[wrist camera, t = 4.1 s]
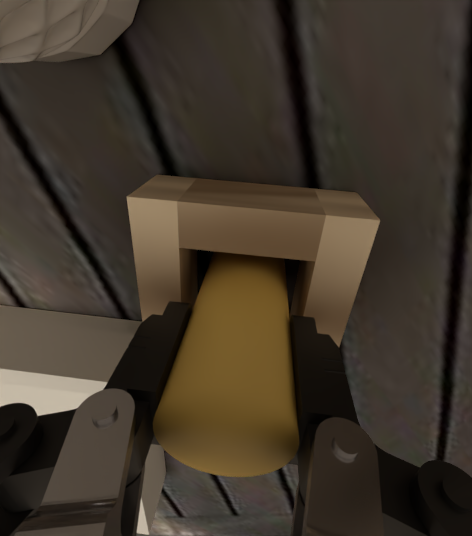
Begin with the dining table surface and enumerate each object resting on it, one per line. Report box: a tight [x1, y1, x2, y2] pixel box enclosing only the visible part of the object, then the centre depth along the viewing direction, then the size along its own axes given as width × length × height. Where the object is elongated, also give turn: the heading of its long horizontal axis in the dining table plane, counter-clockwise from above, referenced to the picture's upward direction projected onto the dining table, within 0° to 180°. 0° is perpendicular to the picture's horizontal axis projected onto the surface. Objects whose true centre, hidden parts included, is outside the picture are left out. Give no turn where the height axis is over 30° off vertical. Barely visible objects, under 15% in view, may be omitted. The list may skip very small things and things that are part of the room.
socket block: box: [127, 175, 380, 347], centre depth 13 cm, size 8×8×3 cm
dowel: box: [153, 251, 299, 477], centre depth 11 cm, size 4×4×8 cm
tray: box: [0, 305, 166, 535], centre depth 19 cm, size 16×16×4 cm
